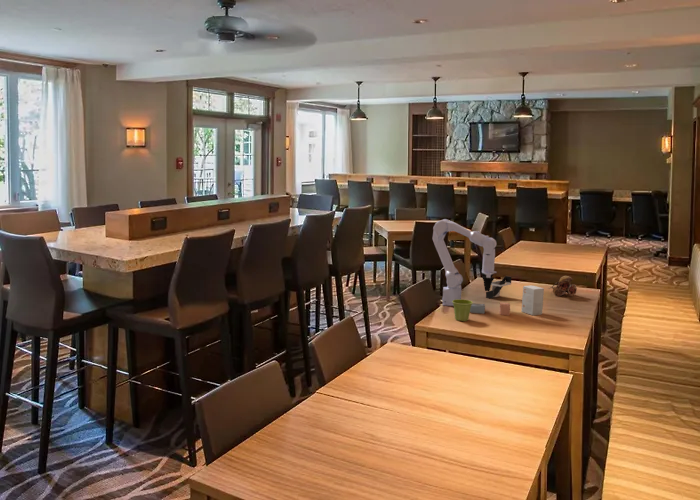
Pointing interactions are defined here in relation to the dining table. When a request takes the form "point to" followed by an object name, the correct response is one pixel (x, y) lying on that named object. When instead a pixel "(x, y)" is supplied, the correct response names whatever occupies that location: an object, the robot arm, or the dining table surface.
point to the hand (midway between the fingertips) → (486, 289)
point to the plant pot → (462, 309)
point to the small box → (532, 300)
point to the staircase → (498, 287)
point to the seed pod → (564, 286)
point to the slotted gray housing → (477, 308)
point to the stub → (504, 308)
